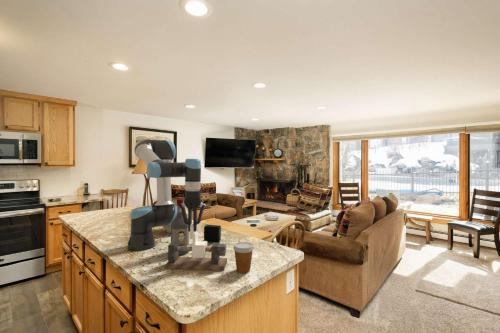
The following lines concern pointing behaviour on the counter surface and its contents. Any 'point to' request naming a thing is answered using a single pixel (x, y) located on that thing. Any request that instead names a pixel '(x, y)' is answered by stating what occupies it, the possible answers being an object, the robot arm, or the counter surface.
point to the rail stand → (193, 262)
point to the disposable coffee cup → (243, 256)
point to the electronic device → (212, 233)
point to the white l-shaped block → (198, 246)
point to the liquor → (180, 229)
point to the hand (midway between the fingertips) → (192, 238)
